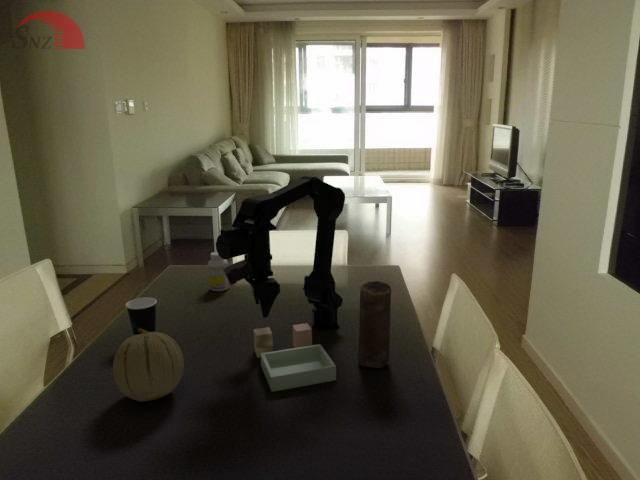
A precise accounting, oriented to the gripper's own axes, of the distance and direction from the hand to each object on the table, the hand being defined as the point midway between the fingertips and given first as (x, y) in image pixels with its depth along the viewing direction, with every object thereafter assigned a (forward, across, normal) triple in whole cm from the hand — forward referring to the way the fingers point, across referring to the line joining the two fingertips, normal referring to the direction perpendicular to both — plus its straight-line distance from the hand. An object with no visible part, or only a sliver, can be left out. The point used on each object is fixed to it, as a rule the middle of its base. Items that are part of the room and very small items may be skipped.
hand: (261, 310), depth 129 cm
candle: (+12, +15, +24) cm, 31 cm away
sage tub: (+12, +13, +6) cm, 18 cm away
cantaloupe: (+12, +12, -27) cm, 32 cm away
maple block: (+12, 0, 0) cm, 12 cm away
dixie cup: (+12, -18, -29) cm, 36 cm away
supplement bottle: (+12, -53, -5) cm, 54 cm away
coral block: (+12, +1, +10) cm, 15 cm away
